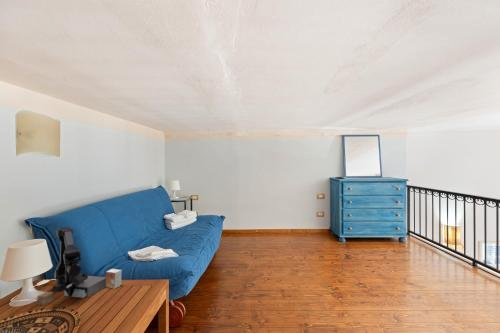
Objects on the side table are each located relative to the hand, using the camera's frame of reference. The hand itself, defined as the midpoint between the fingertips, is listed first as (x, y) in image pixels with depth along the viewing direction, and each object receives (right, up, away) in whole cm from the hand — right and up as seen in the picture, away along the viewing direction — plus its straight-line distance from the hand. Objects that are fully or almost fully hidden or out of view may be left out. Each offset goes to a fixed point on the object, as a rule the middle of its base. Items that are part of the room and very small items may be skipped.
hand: (70, 296), depth 144 cm
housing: (+2, -2, +11) cm, 11 cm away
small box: (+17, -2, +17) cm, 24 cm away
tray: (+2, -2, +8) cm, 8 cm away
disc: (+2, 0, +8) cm, 8 cm away
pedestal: (-12, -1, -4) cm, 13 cm away
